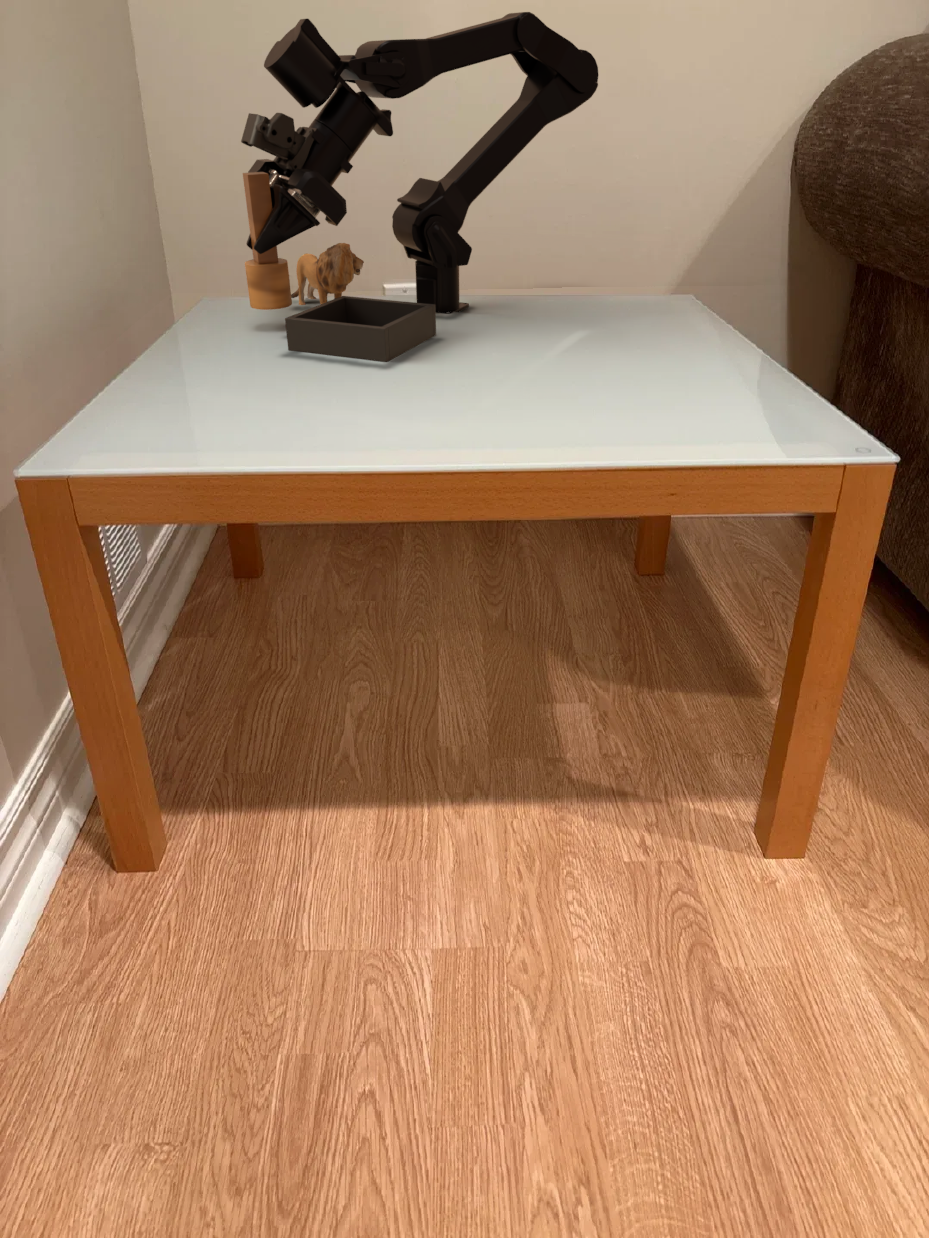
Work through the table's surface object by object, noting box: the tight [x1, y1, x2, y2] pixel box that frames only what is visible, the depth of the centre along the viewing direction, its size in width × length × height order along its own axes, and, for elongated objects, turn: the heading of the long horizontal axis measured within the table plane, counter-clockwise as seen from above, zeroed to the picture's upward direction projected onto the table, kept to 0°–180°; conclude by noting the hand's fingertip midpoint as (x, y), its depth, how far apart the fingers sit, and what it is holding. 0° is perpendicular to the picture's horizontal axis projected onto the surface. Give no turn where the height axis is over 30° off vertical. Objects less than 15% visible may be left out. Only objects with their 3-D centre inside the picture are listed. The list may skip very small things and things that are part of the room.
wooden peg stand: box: [242, 172, 293, 311], centre depth 108 cm, size 5×5×14 cm
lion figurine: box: [291, 242, 365, 306], centre depth 121 cm, size 15×5×9 cm, turn 44°
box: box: [284, 295, 437, 363], centre depth 106 cm, size 13×13×4 cm
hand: (253, 249), depth 108 cm, fingers closed on wooden peg stand, 2 cm apart
